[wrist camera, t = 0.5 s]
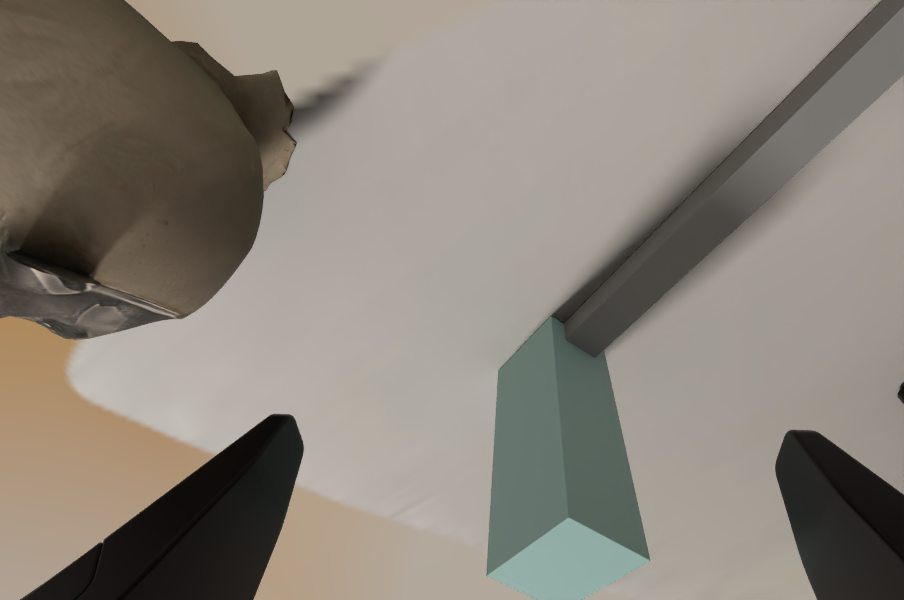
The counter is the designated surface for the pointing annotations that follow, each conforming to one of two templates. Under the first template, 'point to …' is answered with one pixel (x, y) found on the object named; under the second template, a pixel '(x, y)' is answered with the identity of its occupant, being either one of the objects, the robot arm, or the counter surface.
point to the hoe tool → (612, 311)
